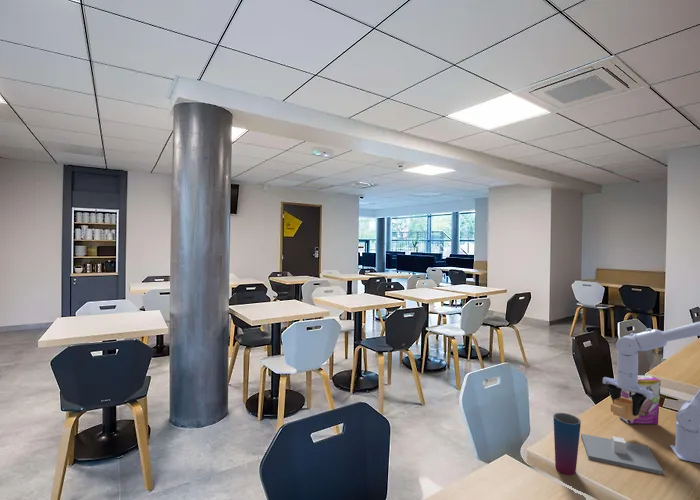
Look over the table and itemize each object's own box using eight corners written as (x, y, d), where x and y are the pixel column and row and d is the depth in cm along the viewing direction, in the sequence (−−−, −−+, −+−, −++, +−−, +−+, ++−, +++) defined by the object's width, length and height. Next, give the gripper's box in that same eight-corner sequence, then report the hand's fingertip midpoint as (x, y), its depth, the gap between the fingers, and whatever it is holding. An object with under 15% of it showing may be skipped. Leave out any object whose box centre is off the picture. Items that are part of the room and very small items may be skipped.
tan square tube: (622, 410, 131) (622, 396, 130) (638, 417, 126) (639, 402, 126) (607, 416, 127) (607, 401, 127) (623, 423, 122) (624, 408, 122)
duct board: (647, 449, 118) (647, 435, 118) (663, 474, 106) (663, 459, 106) (581, 436, 126) (581, 423, 126) (588, 458, 113) (588, 444, 113)
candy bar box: (629, 425, 134) (630, 379, 133) (618, 418, 139) (620, 374, 138) (659, 425, 134) (661, 379, 134) (648, 418, 139) (649, 374, 139)
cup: (552, 472, 106) (553, 420, 106) (551, 460, 112) (553, 410, 112) (580, 480, 103) (581, 426, 102) (578, 466, 109) (580, 416, 108)
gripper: (659, 377, 122) (657, 418, 122) (611, 363, 135) (610, 400, 135) (647, 380, 119) (645, 422, 119) (599, 366, 132) (598, 404, 132)
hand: (626, 411), depth 127 cm, fingers closed on tan square tube, 5 cm apart
